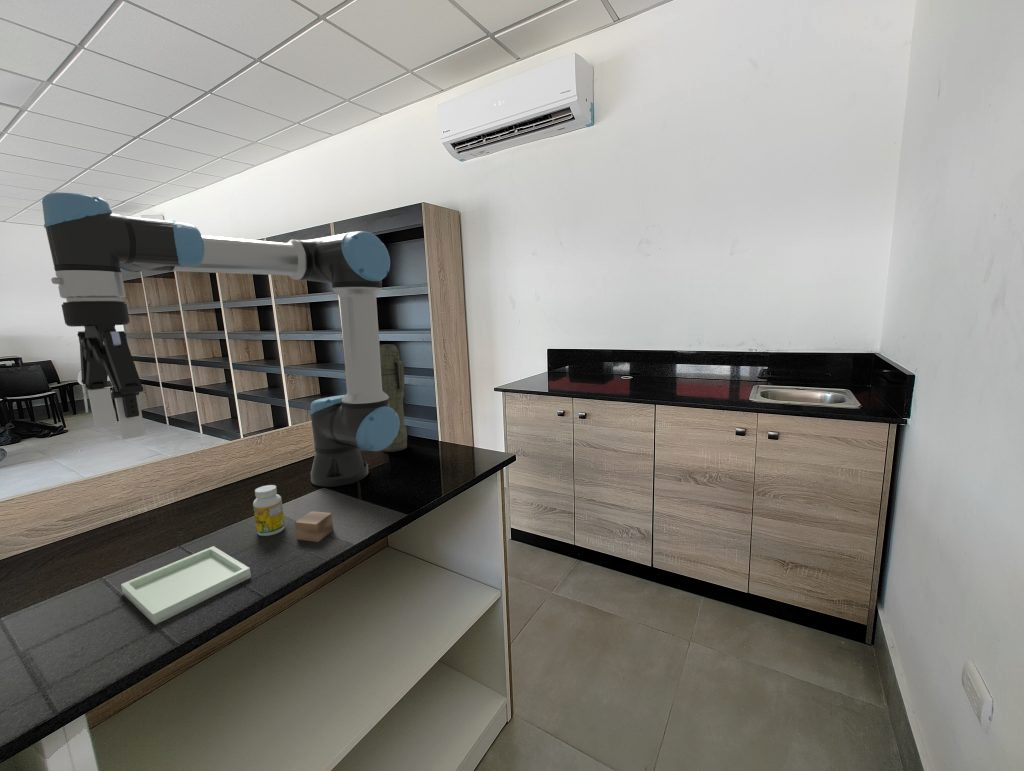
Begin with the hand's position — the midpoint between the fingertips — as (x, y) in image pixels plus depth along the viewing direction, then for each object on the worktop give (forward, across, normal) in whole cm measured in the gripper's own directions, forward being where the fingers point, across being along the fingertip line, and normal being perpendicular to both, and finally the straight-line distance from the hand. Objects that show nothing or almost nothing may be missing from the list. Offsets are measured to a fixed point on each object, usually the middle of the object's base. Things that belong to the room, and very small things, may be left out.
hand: (119, 431), depth 73 cm
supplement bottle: (+28, +1, +21) cm, 35 cm away
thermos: (+28, -20, +74) cm, 82 cm away
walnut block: (+28, +11, +25) cm, 39 cm away
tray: (+27, +8, +3) cm, 29 cm away
